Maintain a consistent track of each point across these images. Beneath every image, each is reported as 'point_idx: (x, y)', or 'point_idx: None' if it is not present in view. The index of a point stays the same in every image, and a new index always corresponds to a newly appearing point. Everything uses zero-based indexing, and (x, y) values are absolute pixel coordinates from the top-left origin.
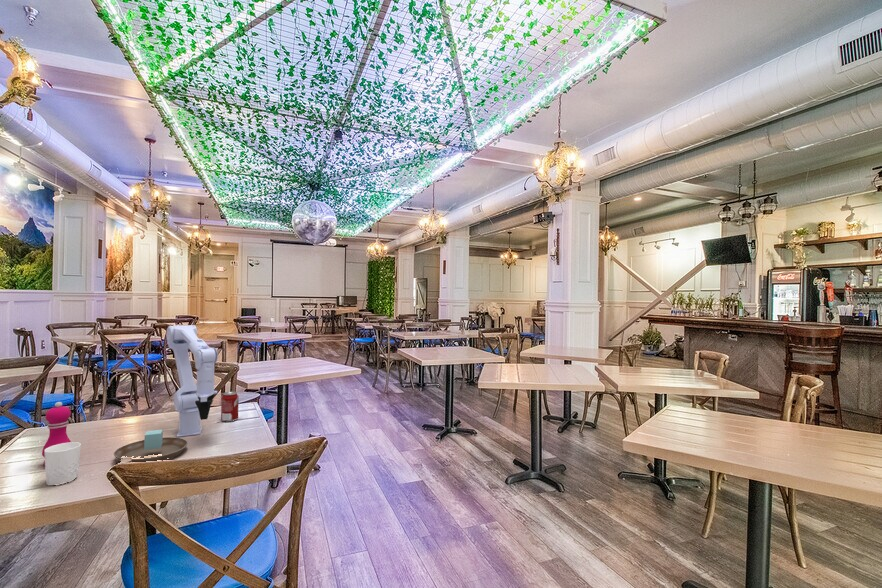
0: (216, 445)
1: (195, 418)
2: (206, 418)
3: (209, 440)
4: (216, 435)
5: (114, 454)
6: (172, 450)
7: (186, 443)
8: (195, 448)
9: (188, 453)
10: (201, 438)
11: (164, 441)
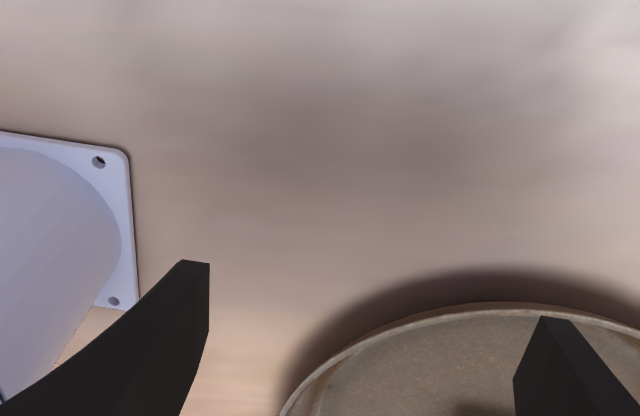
0: (599, 41)
1: (18, 288)
2: (572, 336)
3: (369, 88)
4: (222, 3)
5: None
6: (478, 348)
7: (540, 315)
8: (540, 216)
9: (636, 270)
10: (259, 148)
11: (303, 396)
